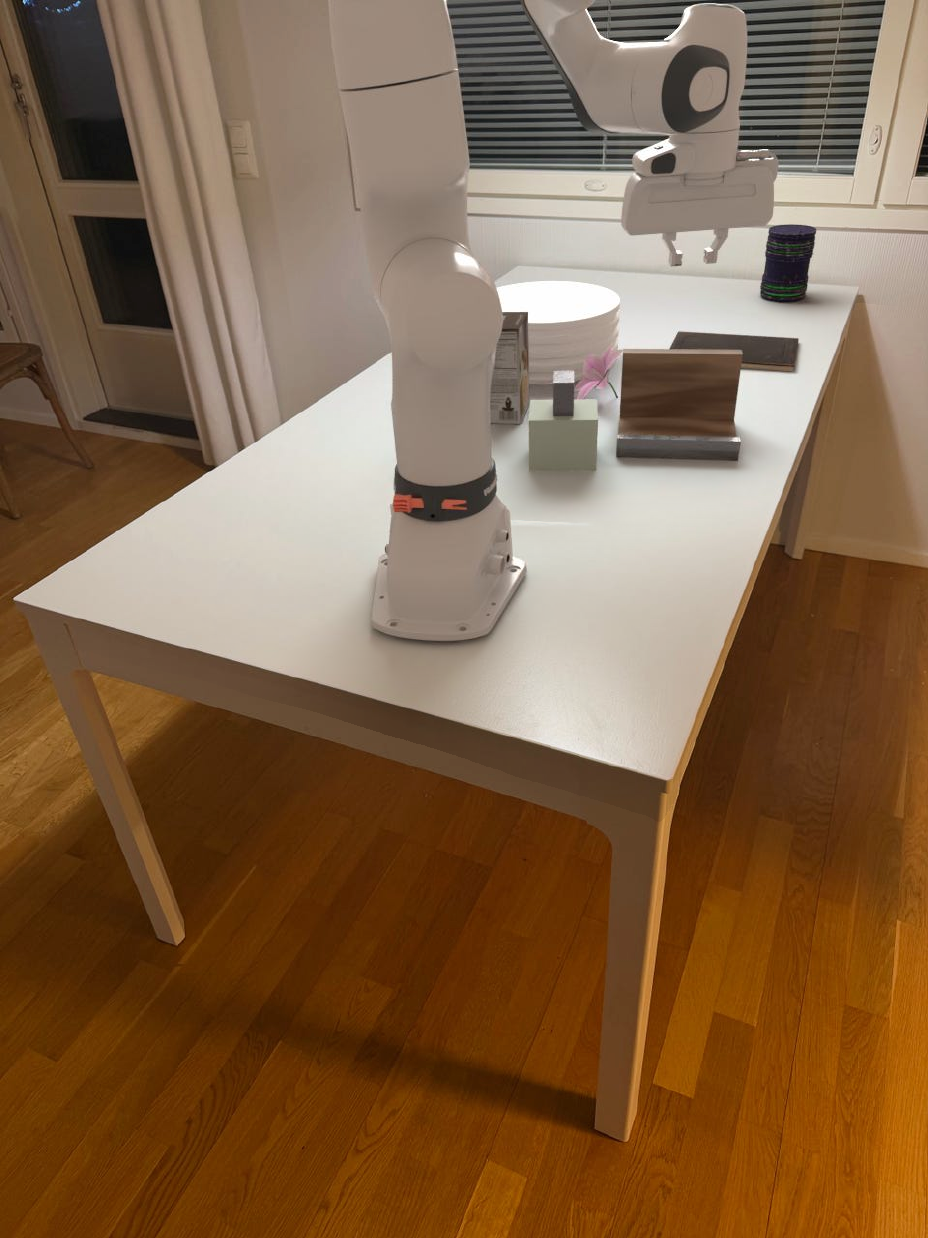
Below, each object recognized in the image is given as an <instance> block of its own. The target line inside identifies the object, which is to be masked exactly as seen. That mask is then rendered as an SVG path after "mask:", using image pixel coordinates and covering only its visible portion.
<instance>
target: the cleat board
mask: <svg viewBox="0 0 928 1238" xmlns="http://www.w3.org/2000/svg"><path fill="white" fill-rule="evenodd" d="M622 350H623V352H622V363H621V365H622V366H621V381H620V382H621V383H620V399H619V400H620V403H619V416H618V417H619V420H618V429H617V435H616V436H617V437H616V449H615V451H616V453H615V457H616V458H642V459H643V458H644V459H646V458H648V459H650V458H651V459H677V460H678V459H679V460H681V459H683V460H709V461H711V460H712V461H739V456H740V452H741V451H740V449H741V443H742V441H741V437H738V434H737V429H736V423H735V417H736V409H737V408H736V407H737V400H738V391H739V385H740V379H741V377H740V376H741V371H742V370H741V369H742V368H741V363H742V356H743V353H742V350H702V349H670V348H668V349H667V348H649V349H648V348H623V349H622Z"/></svg>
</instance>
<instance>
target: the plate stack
mask: <svg viewBox="0 0 928 1238" xmlns="http://www.w3.org/2000/svg"><path fill="white" fill-rule="evenodd" d="M496 288H497V291H498V294H499V298H500V302H501V307H502V312H528V352H529V385H553V375H554V371H574V382H577V381H578V382H579V381H581V379H583V378H584V377H585V375H584V373H583V362H584V359H585V357H586V356H587V355H589V354H595V355H598V356H600V357H601V356H602V354H603V353H604V351H605V350H606V349H607V347H608V346H609V345H610V344H611V343H612V342H613V341H614V345H613V348H612V351H611V352H613V351H616V350H619V349H618V347H619V339H618V337H619V330H620V328H619V327H620V326H619V322H620V309H621V307H620V306H621V298H620V296H619V295H618V294H617V293H616V292H614V291H613V290H611V289H609V288H606V287H604V286H601V285H597V284H592V283H591V284H590V283H586V282H585V283H584V282H577V281H567V280H565V281H561V280H560V281H559V280H546V281H544V280H543V281H530V282H521V283H514V284H508V285H503V286H499V287H496ZM617 361H618V358H617V359H616V360H615V361H614V362H613V363H612V364H611V365H610V367H609V370H610V369H611V368H612V367H613V366H614V365H615V364H616V362H617Z"/></svg>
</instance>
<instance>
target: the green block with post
mask: <svg viewBox="0 0 928 1238" xmlns="http://www.w3.org/2000/svg"><path fill="white" fill-rule="evenodd" d="M574 388H575V381H574V371H554V375H553V384H552V399H529V412H528V413H529V414H528V470H529V472H530V471H597V464H598V463H597V461H598V460H597V459H598V458H597V457H598V434H599V433H598V431H599V428H598V427H599V413H598V411H599V410H598V399H596V398H583V399H577V398H576V399H575V392H574Z"/></svg>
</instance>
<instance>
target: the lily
mask: <svg viewBox="0 0 928 1238" xmlns="http://www.w3.org/2000/svg"><path fill="white" fill-rule="evenodd" d="M613 345H614V341H613V342H612V343H611V344H610V345H609V346H608V347H607V349H606V350H605V351H604V353H603V354H602V356H601V357H600V356H598V355H595V354H589V355H587V356H586V357H585V359H584V362H583V373H584V375H585V377H584V378H583V379H581V380H579V381H578V383H577V384H576V385H575V386H574V393H575V392H577V391H578V393H577V395H576V399H585V397H586V395H587V394H589V392H590V391H591V390H592V389H593V388H594V389H598V390H606V389H607V386H608V385H609V386H610V388H611V389H612V392H613V394H614V396H615V397H616V398H617V399H618V398H619V397H618V394H617V392H616V390H615V388H614V386H613V385H612V384H611V382H610V381H609V370H610V369H609V367H610V365H611V364H612V363H613V362H614V361H615V360H616V359H617V360H618V358H619V357H620V356H621V354H623V349H617V350H616V351H613V352H611V351H612V348H613Z"/></svg>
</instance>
